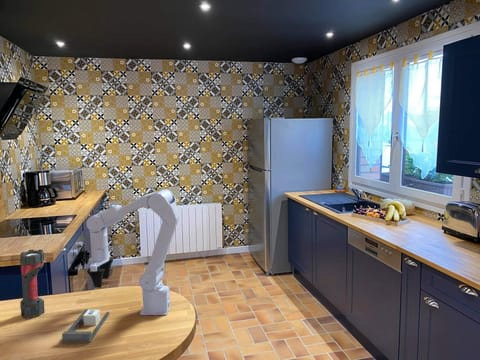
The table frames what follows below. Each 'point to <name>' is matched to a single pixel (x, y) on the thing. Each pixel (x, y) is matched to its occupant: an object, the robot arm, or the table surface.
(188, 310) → the table surface
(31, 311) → the flashlight
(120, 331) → the table surface
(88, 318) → the block
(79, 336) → the rail
